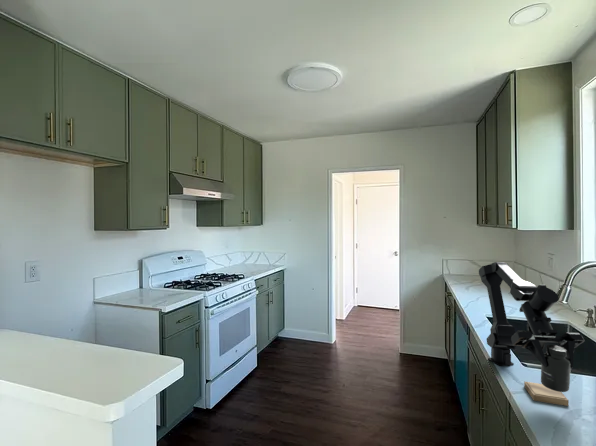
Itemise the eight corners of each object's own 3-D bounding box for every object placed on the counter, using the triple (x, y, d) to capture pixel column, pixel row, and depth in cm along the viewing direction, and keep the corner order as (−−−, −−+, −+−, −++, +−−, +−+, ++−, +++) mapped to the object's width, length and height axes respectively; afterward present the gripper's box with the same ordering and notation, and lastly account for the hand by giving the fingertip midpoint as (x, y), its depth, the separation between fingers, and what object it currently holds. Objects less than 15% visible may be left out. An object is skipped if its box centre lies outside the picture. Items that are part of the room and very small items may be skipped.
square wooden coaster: (524, 386, 110) (524, 380, 110) (556, 391, 108) (556, 385, 108) (533, 400, 102) (533, 394, 102) (568, 406, 99) (568, 399, 99)
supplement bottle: (538, 386, 98) (540, 347, 97) (542, 378, 103) (543, 341, 102) (568, 395, 93) (569, 354, 92) (570, 386, 98) (572, 347, 97)
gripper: (554, 330, 112) (577, 378, 101) (497, 328, 114) (514, 374, 103) (572, 315, 103) (599, 365, 93) (510, 312, 105) (529, 361, 95)
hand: (558, 367), depth 96 cm, fingers closed on supplement bottle, 7 cm apart
